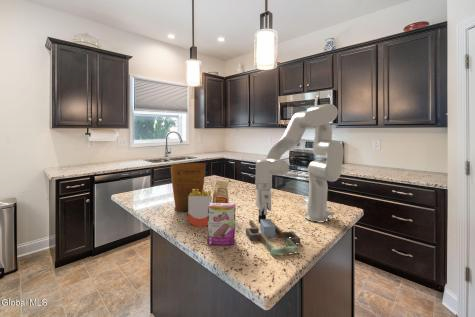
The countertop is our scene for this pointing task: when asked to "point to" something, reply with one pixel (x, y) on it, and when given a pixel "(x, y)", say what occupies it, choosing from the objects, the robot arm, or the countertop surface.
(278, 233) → the lane
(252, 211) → the countertop surface
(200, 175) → the pancake mix bag
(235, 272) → the countertop surface
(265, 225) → the block
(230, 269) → the countertop surface
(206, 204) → the french fries container
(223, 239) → the candy bar box
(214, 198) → the milk carton
